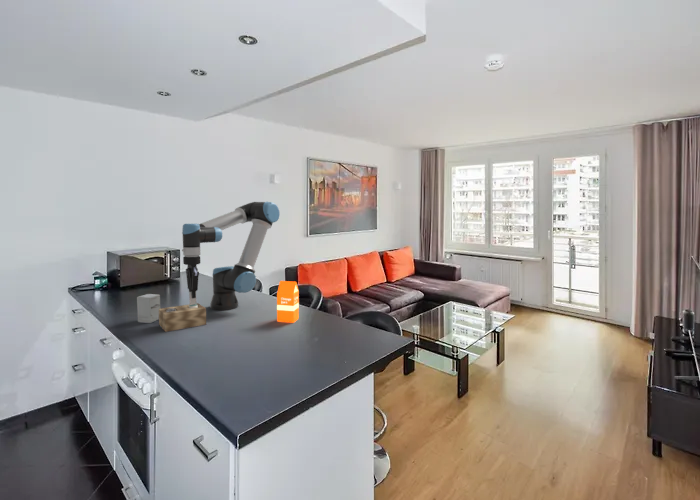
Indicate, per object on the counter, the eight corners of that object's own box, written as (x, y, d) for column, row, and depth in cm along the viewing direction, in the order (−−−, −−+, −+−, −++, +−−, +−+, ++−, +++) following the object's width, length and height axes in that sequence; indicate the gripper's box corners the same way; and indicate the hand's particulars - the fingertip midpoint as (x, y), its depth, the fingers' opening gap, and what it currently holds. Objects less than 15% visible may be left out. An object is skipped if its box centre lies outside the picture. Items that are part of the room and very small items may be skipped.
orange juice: (293, 323, 180) (293, 283, 178) (276, 321, 182) (276, 282, 180) (298, 318, 188) (298, 280, 186) (282, 317, 189) (282, 279, 187)
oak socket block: (198, 318, 185) (197, 303, 184) (206, 324, 176) (205, 308, 175) (159, 325, 173) (158, 308, 173) (165, 331, 164) (164, 314, 163)
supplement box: (150, 323, 176) (149, 297, 175) (137, 322, 178) (136, 296, 176) (161, 319, 183) (160, 294, 182) (148, 318, 185) (147, 293, 184)
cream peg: (196, 319, 180) (196, 303, 180) (199, 321, 177) (198, 304, 176) (188, 321, 178) (187, 304, 177) (190, 323, 175) (190, 306, 174)
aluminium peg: (175, 324, 174) (174, 307, 173) (177, 326, 171) (176, 309, 170) (165, 326, 172) (165, 309, 171) (168, 328, 169) (167, 310, 168)
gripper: (179, 255, 177) (180, 302, 179) (187, 257, 167) (188, 308, 169) (195, 254, 182) (196, 300, 184) (204, 256, 172) (205, 305, 174)
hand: (193, 304), depth 177 cm, fingers closed
